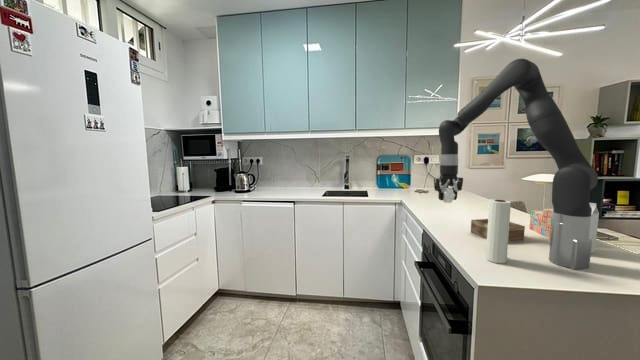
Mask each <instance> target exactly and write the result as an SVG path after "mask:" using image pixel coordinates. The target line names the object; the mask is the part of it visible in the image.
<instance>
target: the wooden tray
mask: <svg viewBox="0 0 640 360" xmlns="http://www.w3.org/2000/svg"><path fill="white" fill-rule="evenodd" d="M487 229H488V218H480V219H479V218H476V219H471V221H470V234H472V235H475V236H477V237H481V238H483V239H486V240H487ZM525 229H526V226H525V225H523V224H518V223H515V222H512V221H510V222H509V236H508V243H509V242H519V241H524V240H525Z"/></svg>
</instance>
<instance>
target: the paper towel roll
mask: <svg viewBox="0 0 640 360" xmlns="http://www.w3.org/2000/svg"><path fill="white" fill-rule="evenodd" d="M511 205H512V201H509V200H504V199H496V198H495V199H494V198H491V197H490V198H489V201H488V214H487V215H488V216H487V217H488V218H487V219H488V229H487V239H486V246H485V247H486V249H485V259H486V260H487V261H489V262H491V263H495V264H506V263H507V259H508V248H509V242H508V236H509V222H511V221H510V219H511V210H512V209H511Z"/></svg>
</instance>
